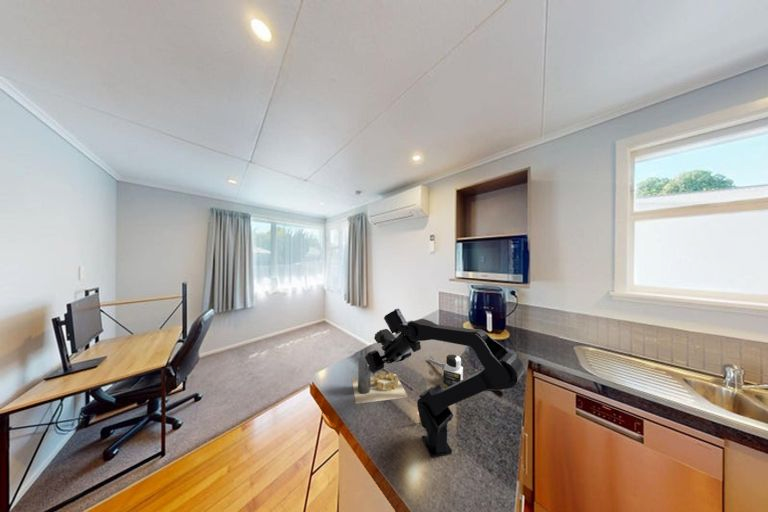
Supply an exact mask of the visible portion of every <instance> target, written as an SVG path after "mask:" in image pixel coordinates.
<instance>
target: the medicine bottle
mask: <svg viewBox="0 0 768 512" xmlns="http://www.w3.org/2000/svg"><path fill="white" fill-rule="evenodd" d="M445 361H446V363H445V364H446V365H445V367H444V370H443V369H442V370H443V373H442V374H443V375H442V386H443V387H446V388H447V387H449V386H451V385H453V384H455V383H457V382H459V381H461V380H463V379H464V377H463V376H464V367H463V366H462V359H461V357H460V356H458V355H456V354H448V355H447V356H446V360H445Z"/></svg>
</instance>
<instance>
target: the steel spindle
mask: <svg viewBox="0 0 768 512" xmlns="http://www.w3.org/2000/svg"><path fill="white" fill-rule="evenodd" d="M368 366H369V365H368V363H367V361H366V359H365V356H360V357H359V358H358V366H357V367H358V368H357V369H358V370H357V373H358V374H357V375H358V376H357V378H358V392H359V393H361V394H367V393H369V392H370V381H371V376H372V372H369V371H368Z"/></svg>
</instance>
